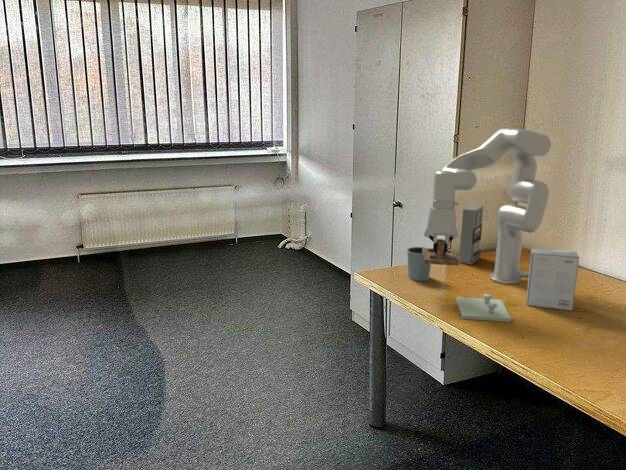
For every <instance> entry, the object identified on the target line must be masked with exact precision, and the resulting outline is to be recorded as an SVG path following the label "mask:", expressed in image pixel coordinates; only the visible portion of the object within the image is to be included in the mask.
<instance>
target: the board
mask: <svg viewBox="0 0 626 470" xmlns="http://www.w3.org/2000/svg"><path fill="white" fill-rule="evenodd" d="M456 303H457V306H458V309H459V313H460V315H461V319H462V320H477V321H489V322H490V321H491V322H492V321H493V322H507V323H510V322H511V323H512V317H511V315H510V314H509V312H508V309H507V308H506V306H505V304H504V302H503V301H502V299H496V298H493V295H492V294H490V293H484V294H482V297H481V298H480V297H479V298H478V297H467V296H466V297H465V296H464V297H463V296H456Z"/></svg>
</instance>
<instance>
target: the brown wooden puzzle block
mask: <svg viewBox="0 0 626 470" xmlns="http://www.w3.org/2000/svg"><path fill="white" fill-rule="evenodd" d="M437 243H438V247H437V254H435V251H433V247H432V248H430V247H424V248H422V253H423V258H424V264H431V265H438V266H439V265H443V266H459V257H458V256H457V253H456V251H455V249H453V248H452V249H451V248H448V249H447V252H446V254H444V244H445V238H437Z"/></svg>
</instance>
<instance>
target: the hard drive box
mask: <svg viewBox="0 0 626 470" xmlns="http://www.w3.org/2000/svg"><path fill="white" fill-rule="evenodd" d="M530 249H531V250H530V257H529V270H528V273H529V277H527V278H528V279H527V281H528V282H527V289H526V298H525V300H526V305H527V306H531V307H539V308H548V309H549V308H550V309H555V310H556V309H557V310H563V311H564V310H565V311H573V309H574V300H575V294H576V293H575V291H576V287H577V286H576V283H577V276H578V268H579V262H580V257H579V255H578V253H577V251H569V250H568V251H567V250H558V249H557V250H556V249H555V250H554V249H543V248H542V249H541V248H530Z"/></svg>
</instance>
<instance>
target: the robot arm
mask: <svg viewBox="0 0 626 470" xmlns="http://www.w3.org/2000/svg"><path fill="white" fill-rule="evenodd" d="M551 142H552V141H551V138H550V137H549V136H548V135H546V134H544V133H540V132H536V131H531V130H528V129H523V128H512V127H504V128H500V129H498V130H497V131H495V132H494V133H493V134H492V135H491V136H490V137H488V139H486V140H485V141H484V142H483V143H482V144H481V145H480V146H479V147H477V148H475V149H472V150H470V151H468V152H465V153H463V154H461V155H459V156H456V157H455V158H453V159H451V160H450V162H448V163H447V164H446V165H445V166H444V167H443V169H442V170H438V171H435V173H434V177H433V178H434V179H433V193H432V197H433V198H432V206H431V207H430V208H429V211H428V217H427V219H428V220H427V227H426V229H425V230H424V233H423V236H424V237H426V238H428V239H429V240H431V242H433V246H432V248H433V251H435V254H437V247H438V243H437V239H438V236H444V241H445V244H444V254H446V252H447V249H449V248H448V247H449V243H450V242H452V241H453V240H455V239H457V238H459V233H458V231H457V212H456V208H455V207H456V206H457V207H458V206H459V202H458V201H456V200H455V192H456V191H469V190H471V189H473V188H474V187H475V186H476V184H477V181H478V179H477V176H476V174H475V173H474V172H473V170H479V169H485V168H488V167H492V166H493V165H495V164H496V163H497V162H498V161H499V160H500V159H501V158H503V156H505V155H506V154H507V153H508V152H510V153H511V154H512V157H513V161H514V167H513V172H512V174H511V175H512V176H511V178H510V182H509V185H508V188H507V197H508V198H509V199H510V201H515V202H518V203H522V204H527V205H526V206H523V205H518V204H513V203H507V204H503V205H502V206H500V207H499V209H498V211H497V213H496V221H497V222H496V223H497V241H496V248H495V249H496V250H495V261H494V269H493V272H492V273H491V274H489V278H490V280H491V281H493V282H496V283H501V284H504V285H507V284H508V285H515V284H520V283H521V282H522V280H523V279H522V278H529V272H527V271H524V270H523V271H521V270H520V264H521V255H522V247H523V246H522V245H523V236H522V233H521V232H525V233H534V232H536V231H537V230H539V228H540V226H541V223H542V222H543V217H544V214H545V212H546V208H547V204H548V202H549V197H550V191H549V189H550V188H549V187H548V185H547V184H546V183H545V182H544V181H540V180H535V178H536V174H537V172H538V171H537V170H538V169H537V168H538V165H537V161H536V158H535V157H539V158H540V157H544V156H546V155H547V154H548V153H549V152H550V150H551V147H552V143H551Z"/></svg>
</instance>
